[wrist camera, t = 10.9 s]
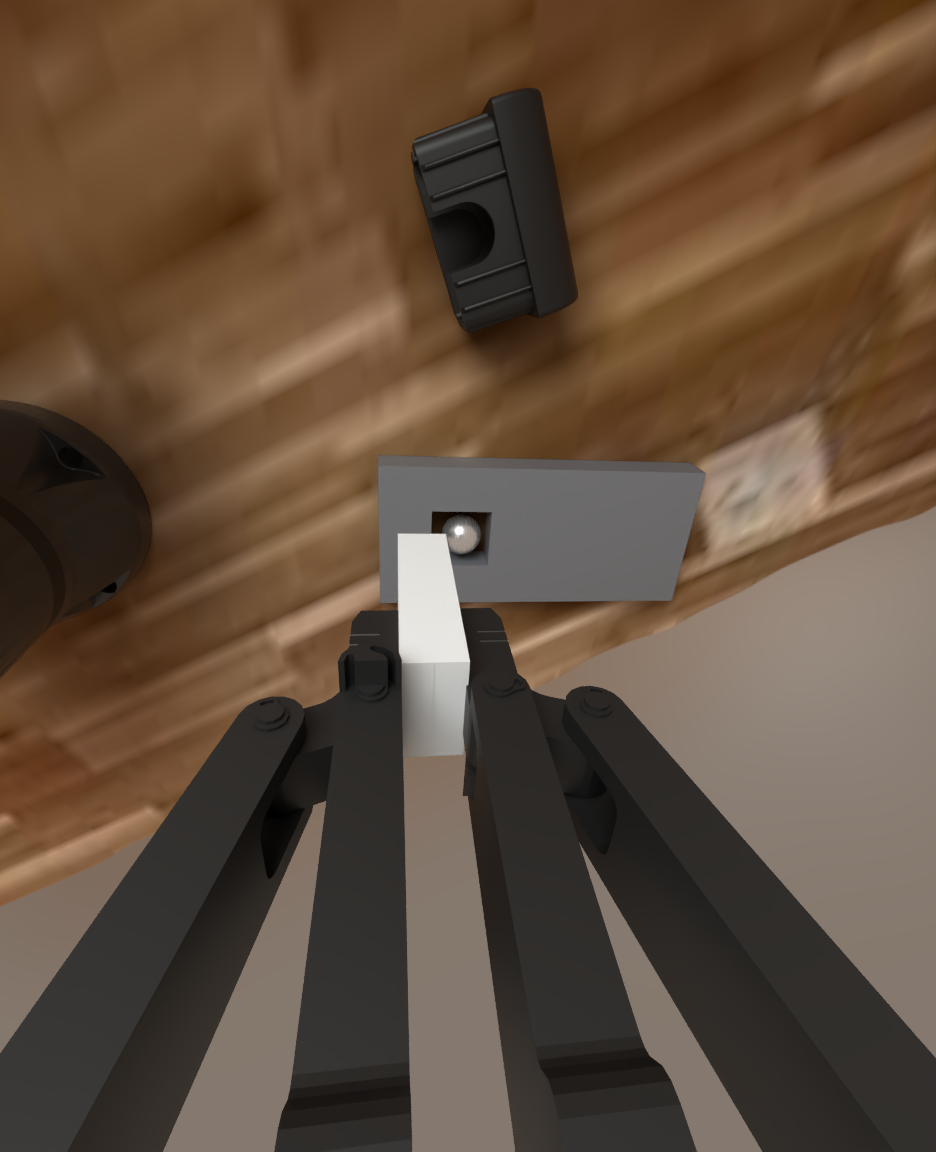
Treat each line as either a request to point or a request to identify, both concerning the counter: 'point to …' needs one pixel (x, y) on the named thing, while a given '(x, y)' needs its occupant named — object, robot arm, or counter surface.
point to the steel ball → (462, 533)
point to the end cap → (497, 212)
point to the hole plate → (546, 525)
